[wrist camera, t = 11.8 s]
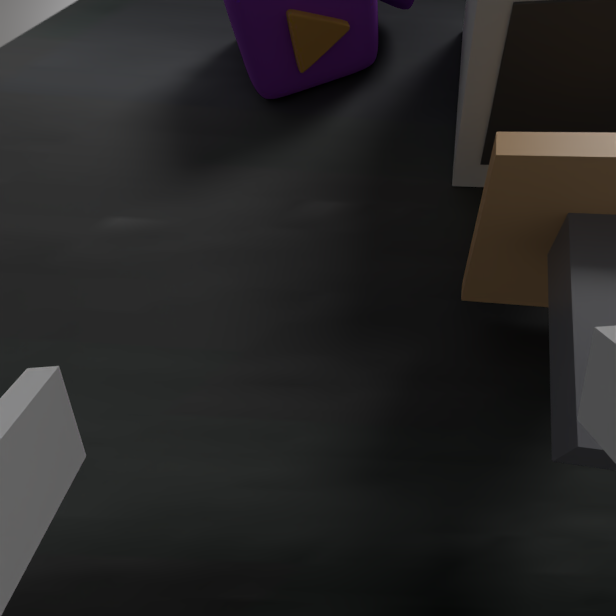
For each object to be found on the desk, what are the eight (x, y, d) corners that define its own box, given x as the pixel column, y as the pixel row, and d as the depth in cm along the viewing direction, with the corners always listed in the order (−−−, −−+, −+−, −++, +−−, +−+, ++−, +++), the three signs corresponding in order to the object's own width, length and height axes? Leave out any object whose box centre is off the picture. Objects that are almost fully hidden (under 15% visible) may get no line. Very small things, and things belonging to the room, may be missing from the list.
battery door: (451, 467, 23) (488, 409, 13) (461, 283, 27) (496, 131, 17) (659, 499, 21) (880, 457, 11) (639, 296, 25) (792, 133, 15)
